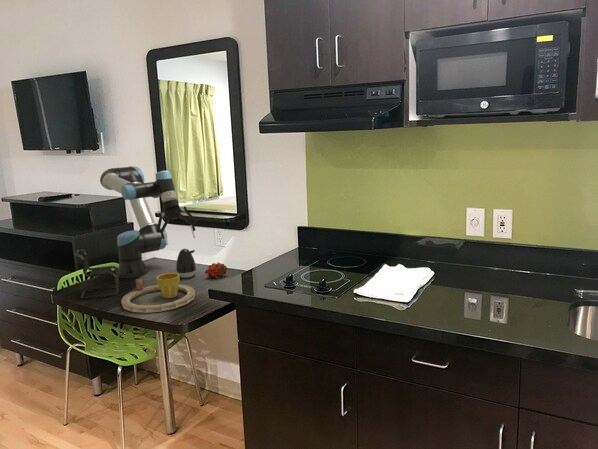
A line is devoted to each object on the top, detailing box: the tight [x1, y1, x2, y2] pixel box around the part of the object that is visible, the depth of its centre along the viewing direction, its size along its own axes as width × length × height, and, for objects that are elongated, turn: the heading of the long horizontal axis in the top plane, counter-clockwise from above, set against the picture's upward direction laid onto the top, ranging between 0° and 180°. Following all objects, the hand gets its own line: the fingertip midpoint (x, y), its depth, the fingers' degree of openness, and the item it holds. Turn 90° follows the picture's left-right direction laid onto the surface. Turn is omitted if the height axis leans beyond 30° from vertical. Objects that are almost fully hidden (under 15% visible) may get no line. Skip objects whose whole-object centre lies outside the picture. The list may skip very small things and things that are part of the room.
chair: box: [73, 248, 120, 300], centre depth 235 cm, size 13×17×22 cm
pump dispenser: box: [175, 248, 197, 279], centre depth 257 cm, size 10×10×15 cm
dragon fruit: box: [204, 262, 228, 279], centre depth 254 cm, size 8×8×12 cm
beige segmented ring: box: [120, 278, 196, 314], centre depth 224 cm, size 32×32×7 cm
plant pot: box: [156, 272, 181, 299], centre depth 228 cm, size 10×10×10 cm
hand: (180, 241), depth 245 cm, fingers open, 13 cm apart
